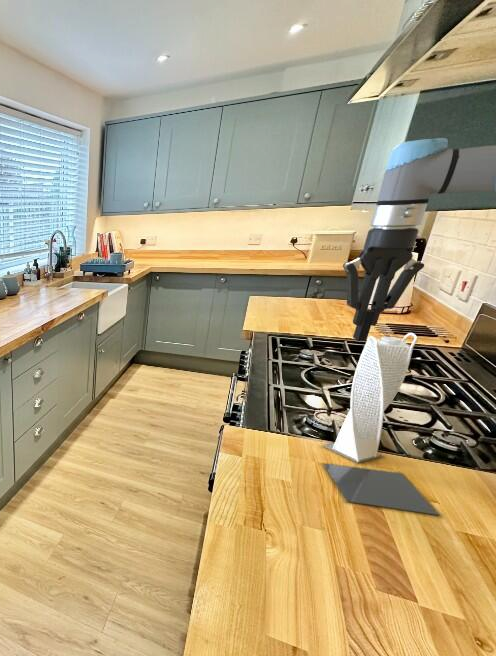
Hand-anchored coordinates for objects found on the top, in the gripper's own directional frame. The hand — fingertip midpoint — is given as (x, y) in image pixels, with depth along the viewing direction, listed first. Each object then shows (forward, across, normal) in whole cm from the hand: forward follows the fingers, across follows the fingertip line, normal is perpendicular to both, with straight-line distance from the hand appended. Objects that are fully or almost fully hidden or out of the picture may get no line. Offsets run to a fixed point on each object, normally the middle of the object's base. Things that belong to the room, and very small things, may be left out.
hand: (359, 339), depth 93 cm
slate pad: (+23, -1, -25) cm, 34 cm away
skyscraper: (+23, 0, -12) cm, 26 cm away
